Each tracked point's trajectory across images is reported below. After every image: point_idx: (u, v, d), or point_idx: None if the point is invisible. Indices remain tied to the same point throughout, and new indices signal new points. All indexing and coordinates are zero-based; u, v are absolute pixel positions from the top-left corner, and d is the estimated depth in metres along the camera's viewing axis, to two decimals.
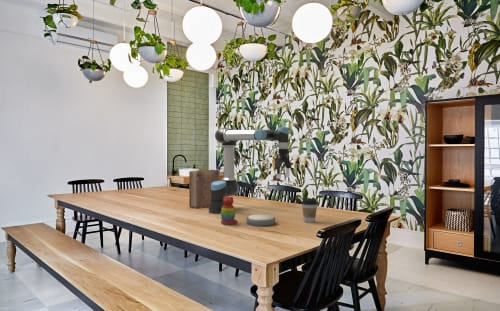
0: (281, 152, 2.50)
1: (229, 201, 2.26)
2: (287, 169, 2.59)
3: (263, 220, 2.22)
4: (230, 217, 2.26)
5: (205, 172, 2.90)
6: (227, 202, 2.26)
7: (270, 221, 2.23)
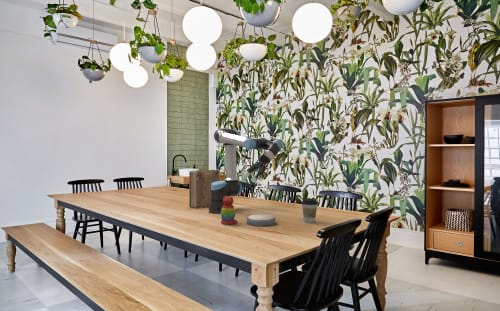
0: (267, 161, 2.38)
1: (229, 201, 2.26)
2: (248, 173, 2.43)
3: (263, 220, 2.22)
4: (230, 217, 2.26)
5: (205, 172, 2.90)
6: (227, 202, 2.26)
7: (270, 221, 2.23)
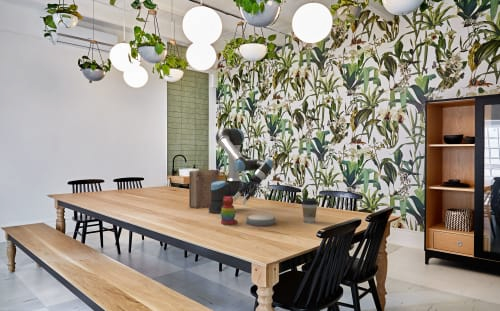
0: (258, 181, 2.34)
1: (229, 201, 2.26)
2: (239, 194, 2.39)
3: (263, 220, 2.22)
4: (230, 217, 2.26)
5: (205, 172, 2.90)
6: (227, 202, 2.26)
7: (270, 221, 2.23)
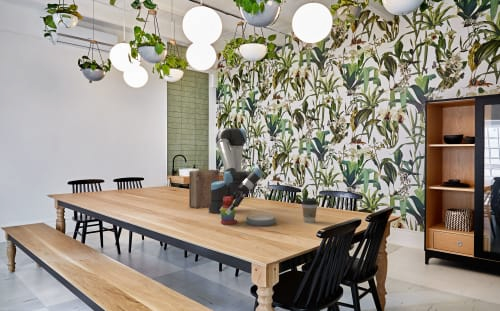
0: (245, 191, 2.31)
1: (229, 201, 2.27)
2: None
3: (263, 220, 2.22)
4: (230, 217, 2.26)
5: (205, 172, 2.90)
6: (227, 202, 2.27)
7: (270, 221, 2.23)
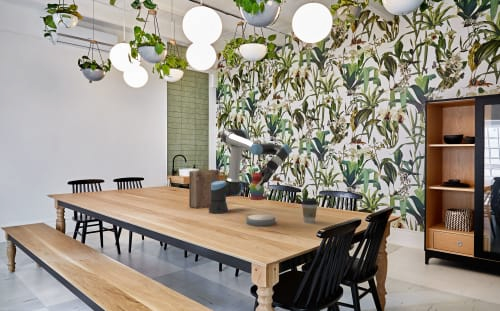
0: (274, 167, 2.30)
1: (258, 177, 2.26)
2: None
3: (263, 220, 2.22)
4: (259, 193, 2.25)
5: (205, 172, 2.90)
6: (256, 178, 2.26)
7: (270, 221, 2.23)
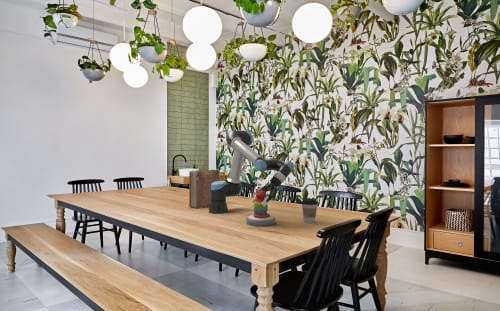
0: (278, 183, 2.32)
1: (262, 195, 2.27)
2: None
3: (263, 220, 2.22)
4: (263, 211, 2.26)
5: (205, 172, 2.90)
6: (260, 196, 2.27)
7: (270, 221, 2.23)
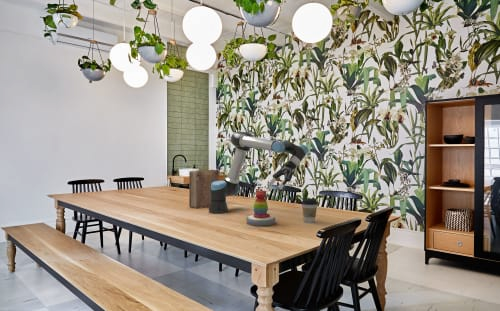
0: (293, 167, 2.38)
1: (262, 195, 2.27)
2: (274, 179, 2.43)
3: (263, 220, 2.22)
4: (263, 211, 2.26)
5: (205, 172, 2.90)
6: (260, 196, 2.27)
7: (270, 221, 2.23)
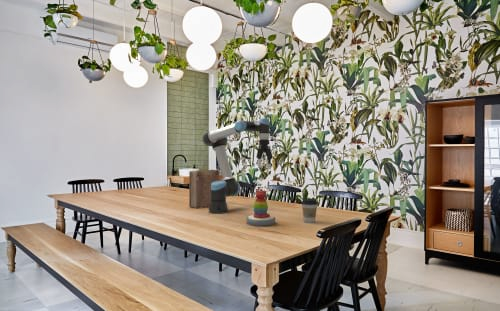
0: (267, 143, 2.55)
1: (262, 195, 2.27)
2: (260, 160, 2.64)
3: (263, 220, 2.22)
4: (263, 211, 2.26)
5: (205, 172, 2.90)
6: (260, 196, 2.27)
7: (270, 221, 2.23)
